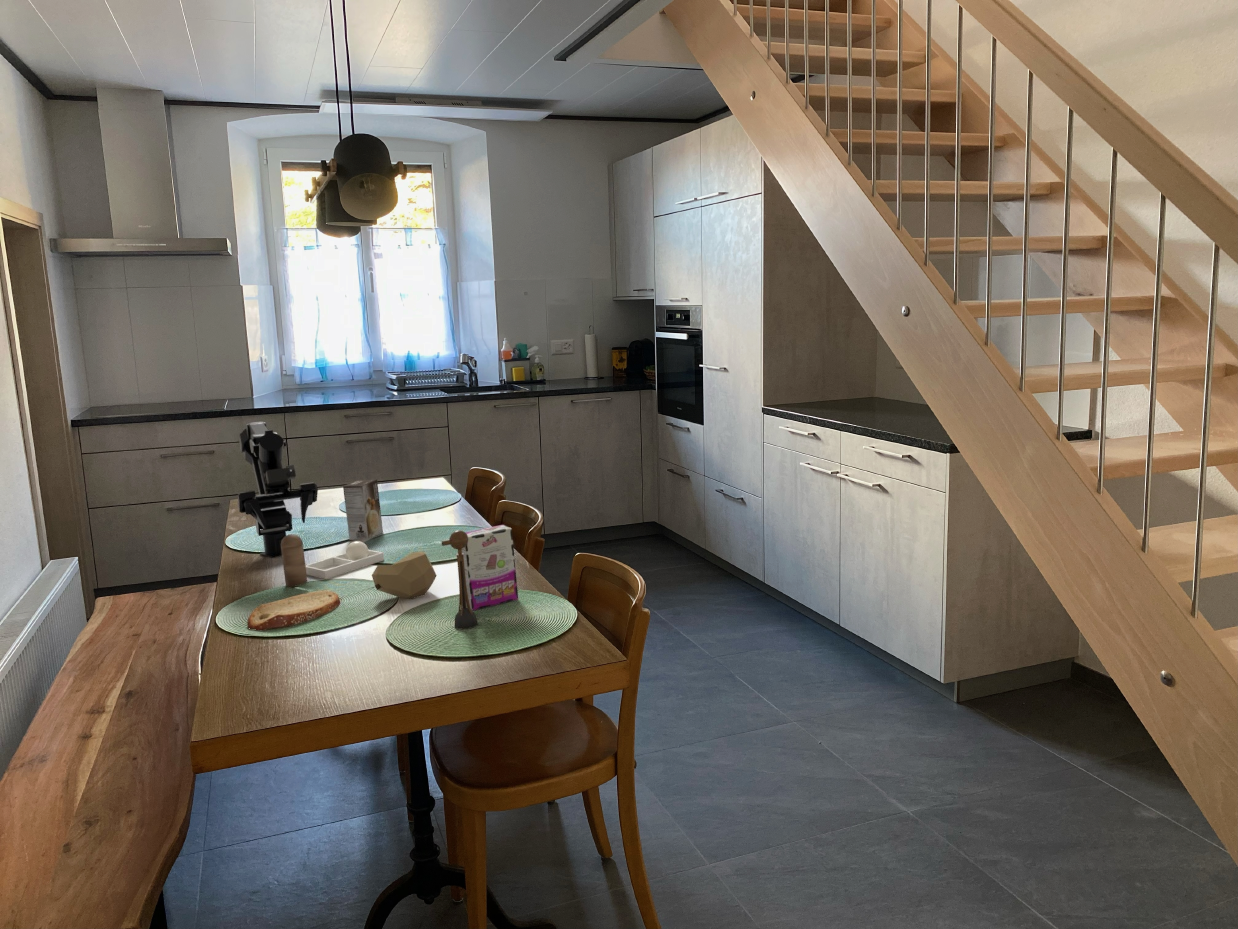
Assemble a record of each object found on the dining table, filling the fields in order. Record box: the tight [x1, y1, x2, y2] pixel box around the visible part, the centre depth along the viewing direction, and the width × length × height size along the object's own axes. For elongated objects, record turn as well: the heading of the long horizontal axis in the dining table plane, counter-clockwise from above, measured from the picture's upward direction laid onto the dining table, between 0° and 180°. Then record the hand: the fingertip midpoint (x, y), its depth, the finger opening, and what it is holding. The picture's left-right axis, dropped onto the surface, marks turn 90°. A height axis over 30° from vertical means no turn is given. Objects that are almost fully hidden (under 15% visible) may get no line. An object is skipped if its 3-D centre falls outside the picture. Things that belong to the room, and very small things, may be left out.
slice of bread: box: [247, 589, 342, 631], centre depth 197 cm, size 18×18×4 cm
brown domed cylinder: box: [281, 533, 308, 588], centre depth 218 cm, size 5×5×12 cm
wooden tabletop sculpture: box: [441, 529, 479, 630], centre depth 183 cm, size 6×5×20 cm
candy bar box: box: [462, 524, 519, 611], centre depth 196 cm, size 11×5×16 cm, turn 122°
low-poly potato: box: [371, 550, 437, 600], centre depth 205 cm, size 15×11×12 cm
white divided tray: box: [305, 549, 385, 580], centre depth 230 cm, size 9×18×2 cm, turn 143°
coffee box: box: [342, 479, 384, 541], centre depth 260 cm, size 9×6×16 cm
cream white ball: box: [345, 540, 369, 561], centre depth 233 cm, size 6×6×6 cm
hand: (284, 525), depth 223 cm, fingers open, 9 cm apart
